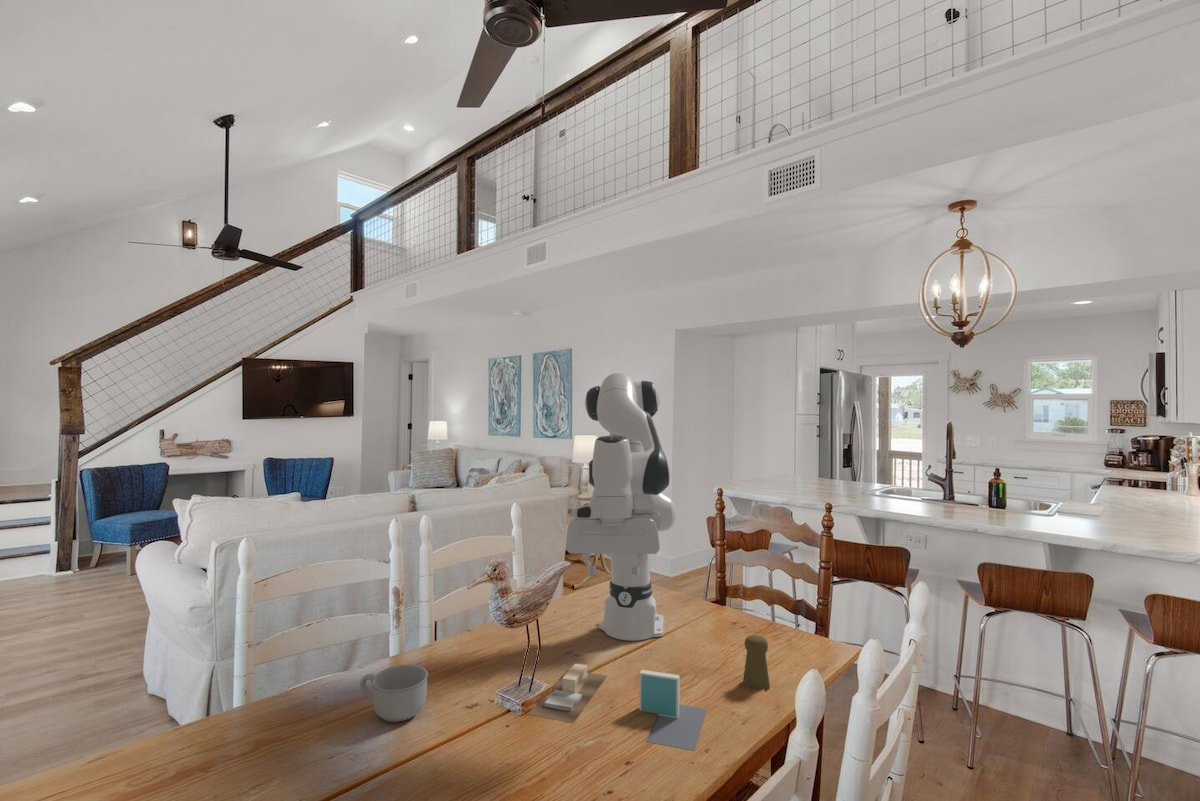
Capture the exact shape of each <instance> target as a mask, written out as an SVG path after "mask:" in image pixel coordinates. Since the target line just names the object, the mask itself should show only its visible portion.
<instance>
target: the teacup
mask: <svg viewBox="0 0 1200 801" xmlns="http://www.w3.org/2000/svg"><path fill="white" fill-rule="evenodd" d="M428 676H429V673H428V670H427V669H426V668H424V667H423V666H420V665H417V664H397V665H394V666H389V667H387V668H385V669H383V670H381V671H379V672H378V673H377V674H373V673H367V674H365V675H363V677H362V678H361V680H360V682H359V687H360V690H361V692H362V693H363V695H364V696H365V697H367V698H368V699H369V700H371V701H372V704H373V705H372V706H373V709H374V712H375V714H376V715H377V716H378V717H379V718H381V719H383V720H384V721H387V722H389V721H390V722H389V723H400V722H399V721H402V722H405V721H408V720H410V719H412V718H413V717H415V716H416V715H417V714H418V713H419V712H421V710H422V709H423V708H424V706H425V704H426V701H427V696H428V678H429V677H428ZM367 681H370V682H371V683H372V691H371V689H370V688H369V687H368V686H367ZM411 717H412V718H411ZM407 719H408V720H407ZM404 720H405V721H404Z"/></svg>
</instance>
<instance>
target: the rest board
mask: <svg viewBox="0 0 1200 801" xmlns="http://www.w3.org/2000/svg"><path fill="white" fill-rule="evenodd" d="M569 670H570V669H567V670H565V671H564V673H563V674H562V675H561V676H560V677H559V678H558V680H557V681H556V682H555V683H554V684H553V685H552V686H551V687H552V690H551V693H550V694H549V695H547V696H546V697H545V698H543V699H542V698H541V699H540V700H538V702H537V703H536V704H535V705H534V707H532V709H531V710H530V711H529V712H527V715H528V716H534V717H539V718H544V719H545V718H546V719H549V720H553V721H554V720H555V721H559V722H560V721H561V722H566V723H571V724H574V723H575V722H576V721H577V719H578V718H579V716H580V715H581V714H582V713H583V711H584V709H585V708H586V707H587V706H588V704H589V702H590V701H591V700H592V698H593V697H594V696H595V694H596V693H597V691H598V690H599V689H600V687H601V686H602V684H603V683H604V681H605V680H606V678H607V677H608V675H603V674H598V673H592V672H588V681H587V682H586V684H585V685H584V686H583V687H582V689H581V690H580V691H579V693H578V694H582V698H581V700H580V701H579V702H578V704H577V705H576V706H575V708H574V709H573V710H572V711H566V710H561V709H555V708H550V707H545V702H546V701H547V699H548V698H549V697H550V696H551V695H552V694H553V692H554V691H555V690H560V691H562V678H563V677H564V676H565V675H566V674H567V672H568V671H569Z"/></svg>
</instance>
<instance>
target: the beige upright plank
mask: <svg viewBox="0 0 1200 801" xmlns="http://www.w3.org/2000/svg"><path fill="white" fill-rule="evenodd" d="M588 667H589V666H588V665H586V664H582V663H581V664H580V663H574V664H573V665H572V667H570V669H568V670H569V671H568V672H567V674H566V675H565V676H564V677H563V678H562V691H560V690H555V691H554V692H553V694H552V695H551V696H550V697H549V698H548V699H547V701H546V702H545V707H550V708H555V709H561V710H566V711H572V710H573V709H574V708H575V706H576V705H577V704H578V702H579V701H580V700H581V698H582V694H578V693H579V691H580V690H581V689H582V687H583V686H584V685H585V684H586V682H587V681H588V673H589V672H588V671H589V670H588Z"/></svg>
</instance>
